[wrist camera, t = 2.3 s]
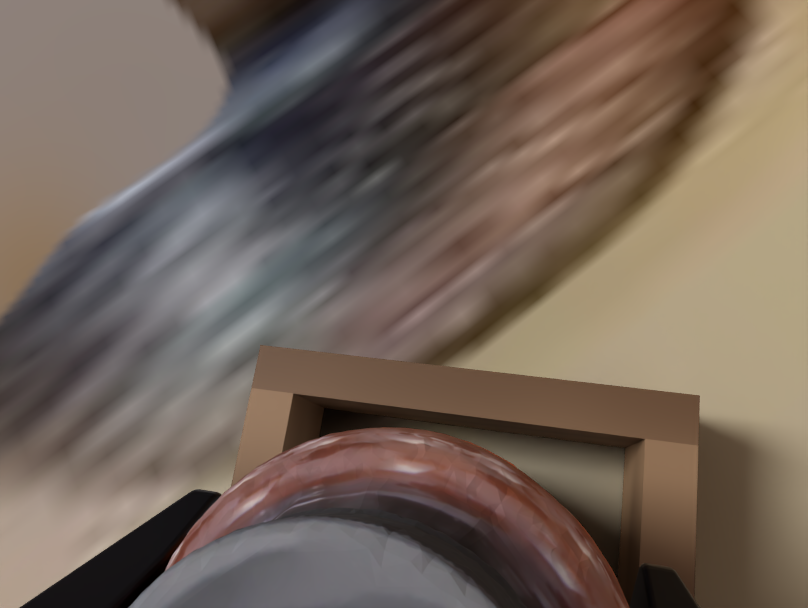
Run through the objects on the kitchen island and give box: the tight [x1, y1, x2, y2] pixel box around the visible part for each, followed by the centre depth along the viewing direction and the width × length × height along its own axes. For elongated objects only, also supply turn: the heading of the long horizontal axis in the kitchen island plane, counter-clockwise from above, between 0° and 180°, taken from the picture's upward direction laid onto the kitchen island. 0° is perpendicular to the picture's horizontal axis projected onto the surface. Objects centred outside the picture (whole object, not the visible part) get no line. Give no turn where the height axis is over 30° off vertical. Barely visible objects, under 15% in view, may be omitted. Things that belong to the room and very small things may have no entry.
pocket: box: [231, 345, 700, 608], centre depth 14 cm, size 10×10×2 cm
